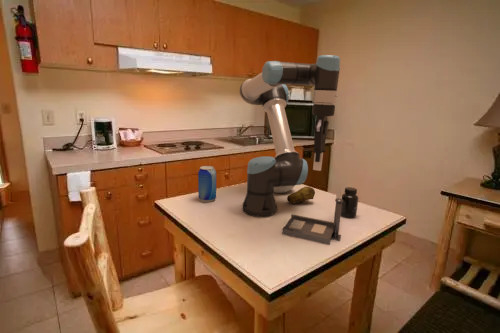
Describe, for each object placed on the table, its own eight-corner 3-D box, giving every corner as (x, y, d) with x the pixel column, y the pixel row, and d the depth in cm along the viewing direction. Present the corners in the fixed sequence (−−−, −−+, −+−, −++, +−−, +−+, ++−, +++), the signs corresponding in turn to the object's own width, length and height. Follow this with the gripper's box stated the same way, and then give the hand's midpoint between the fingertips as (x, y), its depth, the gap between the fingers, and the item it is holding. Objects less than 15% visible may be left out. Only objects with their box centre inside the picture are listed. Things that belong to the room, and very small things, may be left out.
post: (329, 238, 101) (333, 200, 98) (330, 234, 104) (334, 197, 101) (339, 241, 100) (344, 202, 96) (340, 236, 103) (345, 199, 100)
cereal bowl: (280, 184, 164) (281, 172, 162) (301, 192, 151) (302, 179, 149) (257, 189, 154) (257, 176, 152) (277, 198, 141) (278, 184, 139)
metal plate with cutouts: (282, 234, 104) (282, 226, 103) (291, 221, 115) (291, 214, 114) (329, 244, 97) (330, 236, 96) (334, 230, 108) (335, 222, 107)
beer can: (219, 199, 137) (219, 167, 133) (208, 204, 130) (208, 170, 126) (206, 195, 142) (206, 164, 138) (194, 200, 135) (194, 167, 131)
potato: (287, 198, 140) (288, 183, 138) (313, 200, 139) (314, 185, 137) (286, 204, 132) (287, 188, 130) (314, 207, 131) (316, 190, 129)
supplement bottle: (357, 219, 119) (360, 192, 116) (340, 217, 120) (343, 190, 117) (354, 212, 125) (358, 187, 122) (338, 211, 127) (341, 185, 124)
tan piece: (335, 203, 119) (336, 187, 117) (339, 204, 118) (341, 188, 116) (334, 220, 102) (336, 201, 101) (339, 220, 102) (341, 202, 100)
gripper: (332, 105, 90) (324, 176, 96) (337, 103, 101) (330, 167, 108) (308, 103, 93) (302, 172, 99) (316, 102, 104) (310, 164, 111)
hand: (317, 169), depth 103 cm, fingers closed
